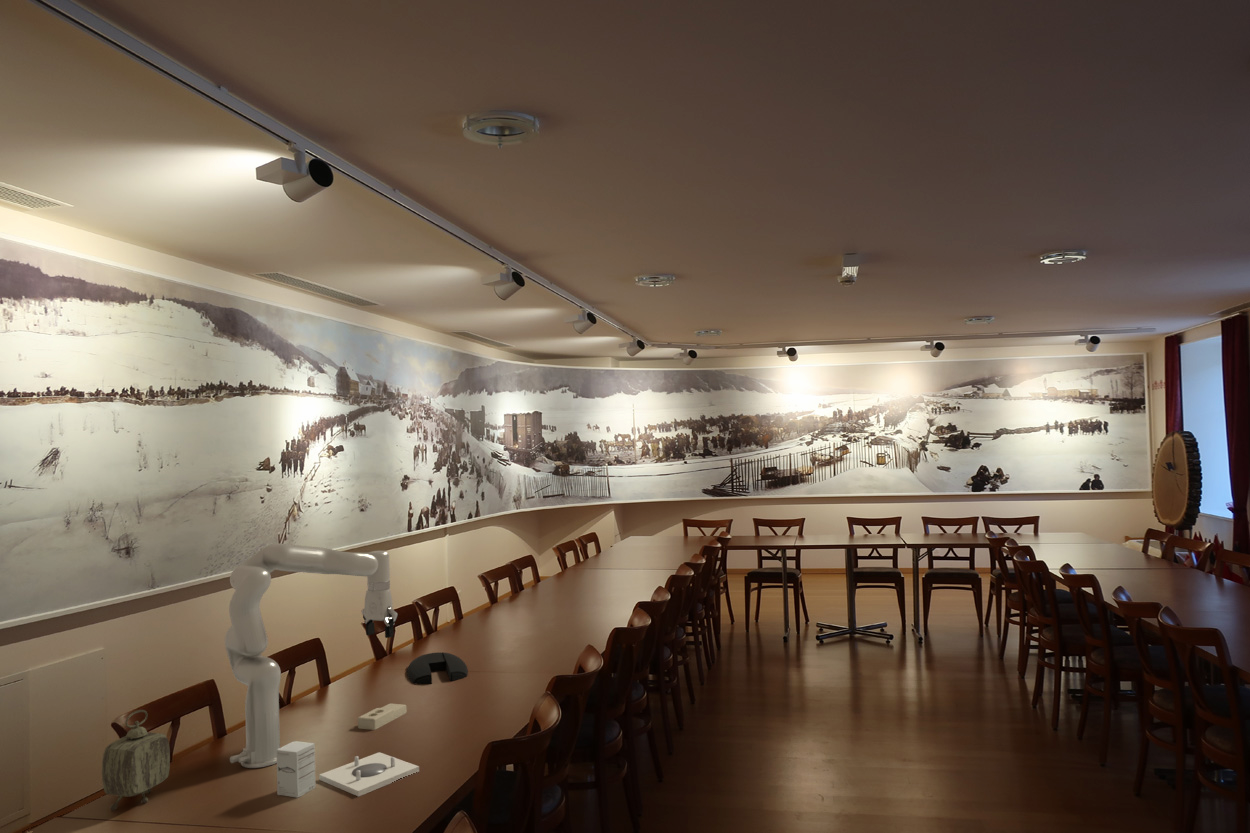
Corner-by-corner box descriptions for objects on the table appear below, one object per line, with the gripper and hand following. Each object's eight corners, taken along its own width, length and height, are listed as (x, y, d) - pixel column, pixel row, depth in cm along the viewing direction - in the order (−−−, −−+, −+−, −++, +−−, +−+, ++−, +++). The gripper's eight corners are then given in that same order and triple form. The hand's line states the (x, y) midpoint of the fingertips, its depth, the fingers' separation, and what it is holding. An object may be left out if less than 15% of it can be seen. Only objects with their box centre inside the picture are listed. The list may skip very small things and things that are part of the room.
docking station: (460, 656, 366) (460, 645, 366) (472, 679, 327) (471, 667, 328) (404, 663, 358) (404, 652, 358) (409, 688, 319) (409, 675, 320)
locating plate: (358, 796, 218) (358, 781, 218) (319, 779, 230) (319, 765, 230) (419, 771, 233) (418, 757, 233) (379, 757, 246) (379, 743, 246)
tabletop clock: (148, 790, 228) (147, 701, 229) (173, 792, 225) (172, 703, 226) (102, 813, 214) (101, 718, 215) (128, 816, 211) (127, 720, 212)
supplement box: (276, 795, 221) (275, 749, 221) (296, 784, 228) (295, 739, 228) (297, 798, 218) (296, 752, 218) (316, 787, 225) (315, 742, 225)
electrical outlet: (406, 702, 288) (374, 719, 271) (406, 713, 288) (374, 731, 271) (389, 700, 290) (357, 717, 273) (390, 712, 290) (357, 729, 273)
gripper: (353, 586, 281) (354, 635, 280) (387, 589, 271) (388, 640, 271) (370, 583, 287) (371, 631, 286) (404, 586, 278) (405, 635, 277)
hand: (379, 635), depth 278 cm, fingers open, 9 cm apart
